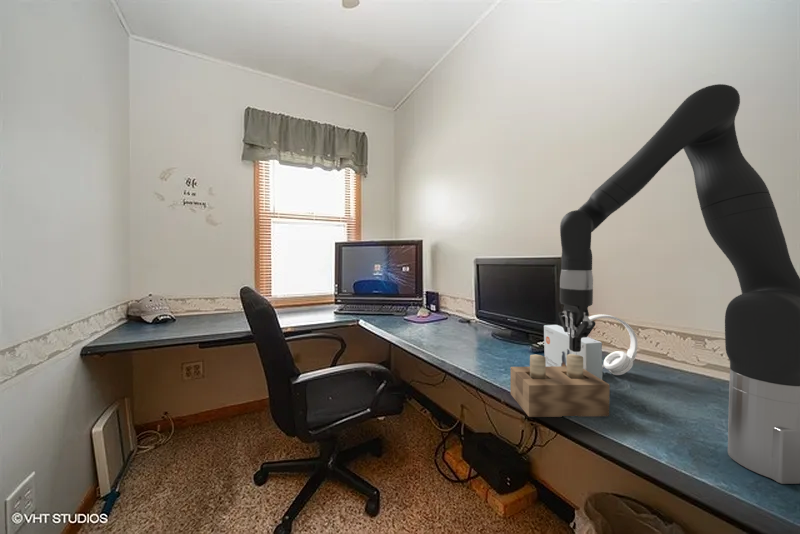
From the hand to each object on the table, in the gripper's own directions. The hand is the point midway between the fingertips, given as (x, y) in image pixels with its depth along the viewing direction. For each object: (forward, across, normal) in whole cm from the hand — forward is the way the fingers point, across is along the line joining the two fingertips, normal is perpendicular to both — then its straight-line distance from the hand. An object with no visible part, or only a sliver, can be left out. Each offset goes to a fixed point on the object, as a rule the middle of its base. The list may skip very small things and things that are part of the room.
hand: (574, 350), depth 77 cm
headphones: (+15, +20, -22) cm, 33 cm away
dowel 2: (+10, 0, 0) cm, 10 cm away
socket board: (+14, 0, +5) cm, 15 cm away
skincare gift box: (+15, +14, -7) cm, 21 cm away
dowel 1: (+10, 0, +10) cm, 14 cm away
